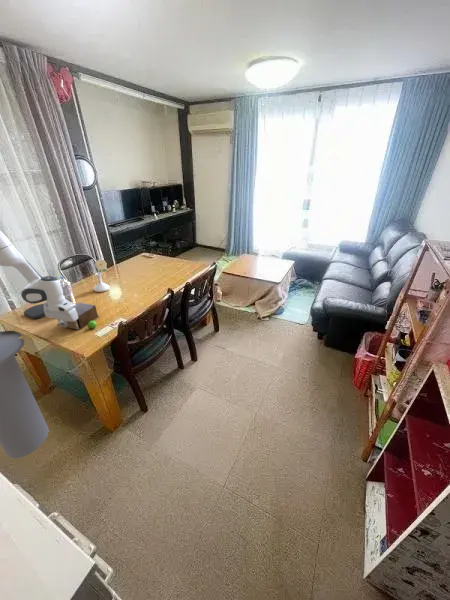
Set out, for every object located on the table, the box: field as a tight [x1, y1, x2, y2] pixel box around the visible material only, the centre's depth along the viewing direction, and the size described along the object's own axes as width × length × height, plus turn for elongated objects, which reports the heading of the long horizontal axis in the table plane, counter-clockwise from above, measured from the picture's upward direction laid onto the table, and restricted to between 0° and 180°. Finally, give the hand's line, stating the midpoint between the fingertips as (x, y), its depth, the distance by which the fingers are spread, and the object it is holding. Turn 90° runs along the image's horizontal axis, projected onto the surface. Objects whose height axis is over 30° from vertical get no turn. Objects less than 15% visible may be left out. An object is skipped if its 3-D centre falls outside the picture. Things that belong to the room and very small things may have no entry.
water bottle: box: [58, 275, 77, 305], centre depth 165 cm, size 7×7×25 cm
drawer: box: [56, 320, 80, 330], centre depth 154 cm, size 18×11×7 cm, turn 164°
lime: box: [87, 320, 97, 330], centre depth 153 cm, size 5×5×5 cm
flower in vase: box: [93, 258, 110, 293], centre depth 194 cm, size 13×11×25 cm
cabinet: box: [74, 302, 99, 330], centre depth 158 cm, size 15×13×9 cm
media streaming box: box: [23, 303, 46, 320], centre depth 167 cm, size 15×15×3 cm
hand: (64, 325), depth 148 cm, fingers closed
